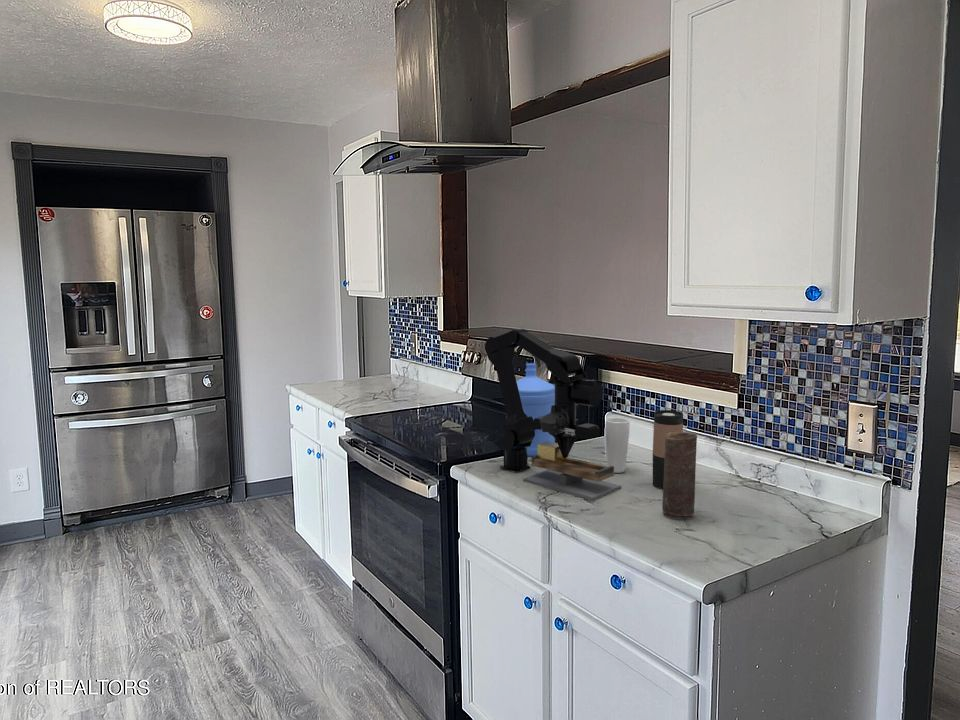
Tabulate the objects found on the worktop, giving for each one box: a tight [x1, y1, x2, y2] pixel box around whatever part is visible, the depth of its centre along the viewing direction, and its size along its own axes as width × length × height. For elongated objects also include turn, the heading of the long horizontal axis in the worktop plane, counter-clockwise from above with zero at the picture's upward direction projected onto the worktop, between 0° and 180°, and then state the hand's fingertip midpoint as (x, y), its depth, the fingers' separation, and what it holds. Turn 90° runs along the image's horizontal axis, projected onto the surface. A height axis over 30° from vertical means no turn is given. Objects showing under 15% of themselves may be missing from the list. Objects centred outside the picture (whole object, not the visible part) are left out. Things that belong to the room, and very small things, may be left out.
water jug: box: [505, 362, 556, 457], centre depth 221 cm, size 16×16×28 cm
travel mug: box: [652, 409, 684, 490], centre depth 186 cm, size 8×8×20 cm
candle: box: [661, 431, 698, 517], centre depth 164 cm, size 8×7×20 cm
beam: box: [531, 455, 615, 482], centre depth 188 cm, size 22×7×2 cm, turn 46°
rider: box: [538, 441, 565, 464], centre depth 192 cm, size 6×4×5 cm
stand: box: [522, 469, 622, 502], centre depth 188 cm, size 23×13×4 cm, turn 46°
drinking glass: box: [604, 417, 630, 474], centre depth 200 cm, size 7×7×15 cm
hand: (564, 457), depth 189 cm, fingers closed
